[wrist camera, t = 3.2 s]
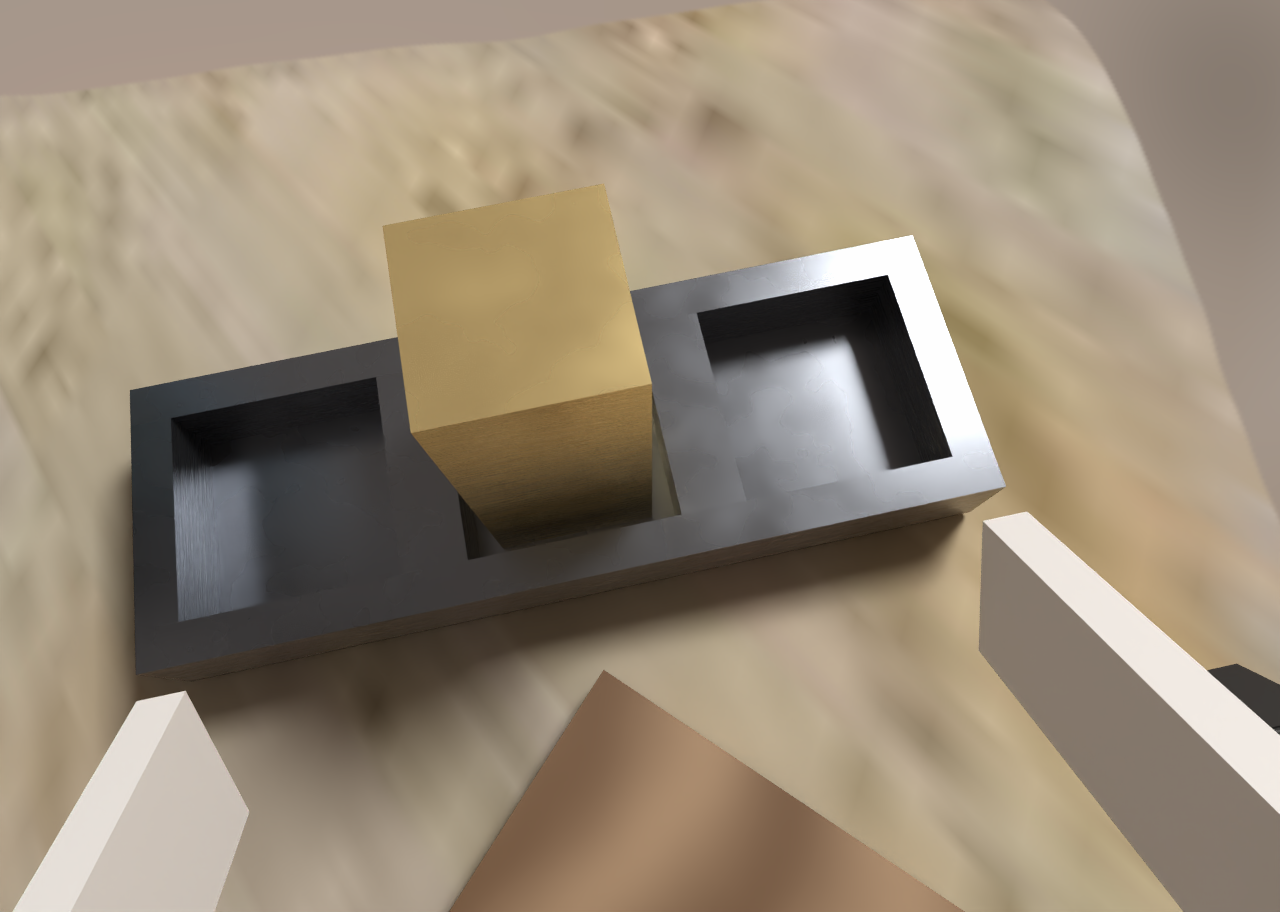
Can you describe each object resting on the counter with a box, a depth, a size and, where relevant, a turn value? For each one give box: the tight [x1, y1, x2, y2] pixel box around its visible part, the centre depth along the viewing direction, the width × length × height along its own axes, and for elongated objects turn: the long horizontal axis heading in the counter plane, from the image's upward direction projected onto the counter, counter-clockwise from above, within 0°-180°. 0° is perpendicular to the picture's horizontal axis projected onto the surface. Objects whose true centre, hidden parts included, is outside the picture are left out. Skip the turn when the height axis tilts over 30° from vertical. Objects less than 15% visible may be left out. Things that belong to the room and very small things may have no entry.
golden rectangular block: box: [383, 184, 652, 548], centre depth 23 cm, size 5×5×11 cm
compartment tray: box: [130, 235, 1006, 681], centre depth 27 cm, size 26×9×3 cm, turn 102°
